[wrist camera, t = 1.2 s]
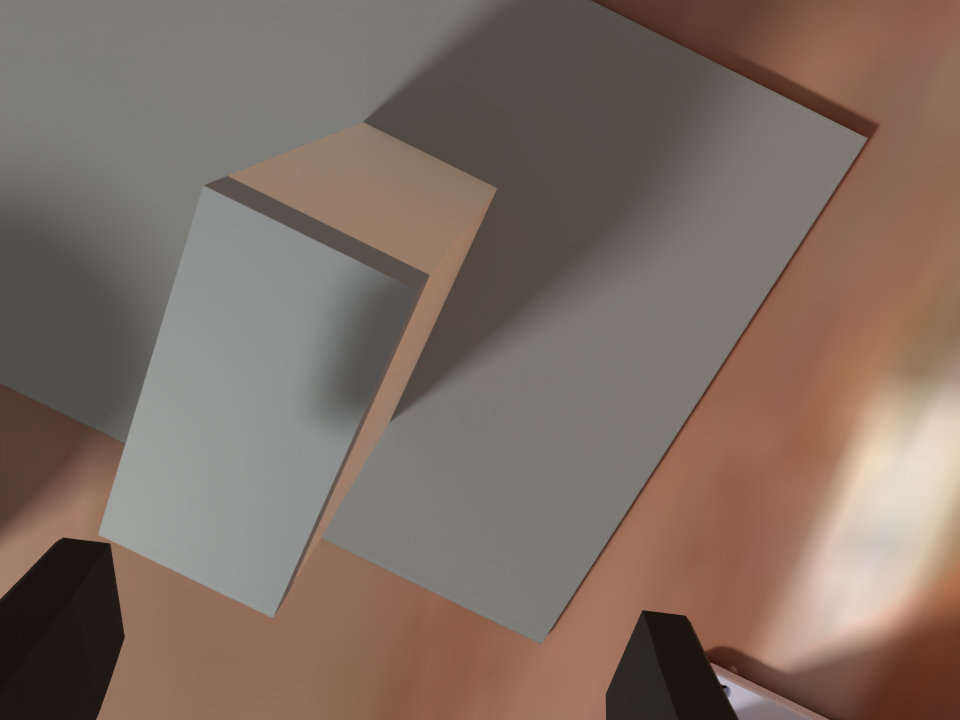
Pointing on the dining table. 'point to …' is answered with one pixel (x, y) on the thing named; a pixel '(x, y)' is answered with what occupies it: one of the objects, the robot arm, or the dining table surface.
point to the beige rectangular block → (286, 354)
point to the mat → (485, 270)
